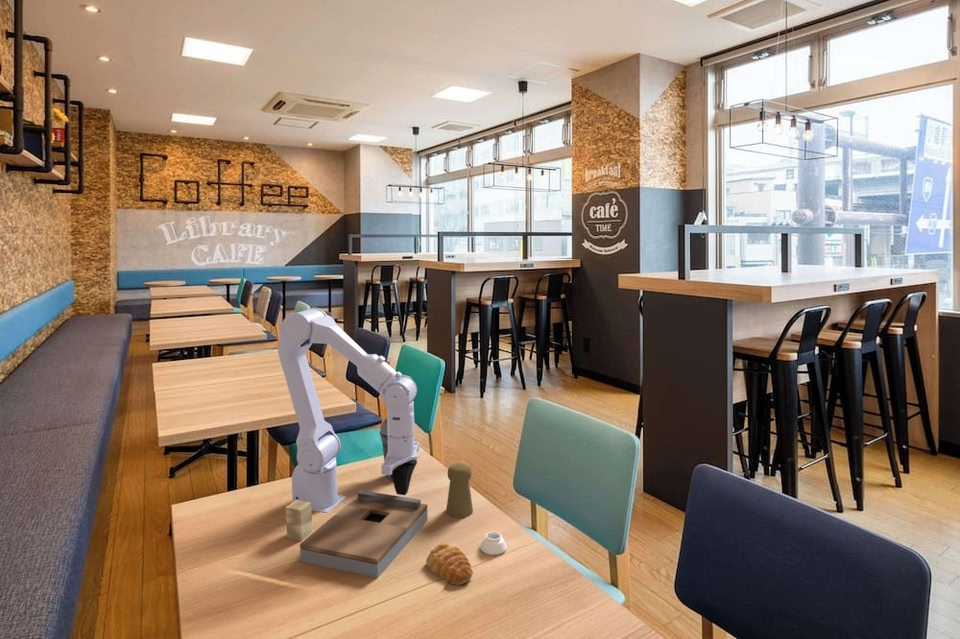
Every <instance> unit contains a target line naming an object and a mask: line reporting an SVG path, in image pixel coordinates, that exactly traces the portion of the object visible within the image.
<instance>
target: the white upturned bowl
mask: <svg viewBox="0 0 960 639" xmlns="http://www.w3.org/2000/svg"><path fill="white" fill-rule="evenodd" d="M507 547H508V546H507V543H506V541H505V540H504V538H503V535H502V534H501V533H500V532H498V531H489V532H487V533H486V534H485V537H483V538H482V541H481V543H480V551H482V552H483V553H484V554H487V555H501V554H503V553H505V552H506V550H507V549H508V548H507Z"/></svg>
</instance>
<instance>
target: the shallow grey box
mask: <svg viewBox="0 0 960 639" xmlns="http://www.w3.org/2000/svg"><path fill="white" fill-rule="evenodd" d="M386 517H387V516H385V515H379V514H374V513H370V514H369V515H368V516H367V517H366V518H365V519H364V520H366V521H371V522H377V523H380V522H381V521H382V520H384V519H385V518H386ZM427 522H428V508H427V509H426V510H425V511H424V513H423V514H422V515H421V516H420V517H419V518H418V519H417V520H416V522H415V523H414V524H413V525H412V526H411V527H410V528H409V529H408V530H407V532H406V533H405V534H404V535H403V536H402V537H401V538H400V539H399V540H398V542H397V543H396V544H395V545H394V546H393V547H392V548H391V549H390V550H389V552H388V553H387V554H386V555H385V556H384V557H383V558H382V559H381V560H380V562H379V563H378V564H376V563H372V562H367V561H362V560H357V559H352V558H347V557H342V556H337V555H332V554H327V553H322V552H317V551H312V550H307V549H302V548H299V549H300V550H299V551H300V553H299V556H300V557H299V558H300V562H301V563H306V564H309V565H314V566H319V567H325V568H328V569H332V570H339V571H343V572H347V573H353V574H356V575H357V574H358V575H362V576H367V577H371V578H374V579H375V578H376V579H378V578H380V576H381V575H382V574H383V573H384V572H385V571H386V570H387V568H388V567H389V566H390V565H391V564H392V563H393V562H394V561H395V559H396V558H397V557H398V556H399V554H400V553H401V552H402V551H403V549H405V547H406V546H407V545H408V544H409V543H410V541H412V540H413V539H414V537H415V535H417V533H418V532H419V531H420V530H421V529H422V528H423V527H424V525H425V524H426V523H427Z"/></svg>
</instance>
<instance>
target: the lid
mask: <svg viewBox="0 0 960 639" xmlns="http://www.w3.org/2000/svg"><path fill="white" fill-rule="evenodd" d="M421 501H422V500H421V499H419V498H418V499H417V498H412V497H405V496H401V495H393V494H387V493H380V492H376V491H375V492H374V491H368V490H363V489H362V490H360V491H359V492H357V496H356V497H354V498H353V499H352V500H351V501H350V502H348V503H347V504H346V505H345V506H344V507H342V508H341V509H340V510H339V511H338V512H336V513H335V514H334V515H332V517H331V518H329V519H328V520H327V521H326V522H325V523H323V524H322V525H321V526H320V527H319V528H317V529H316V530H315V531H314V532H312V533H311V534H310V535H309V536H308V537H306V538H305V539H304V540H303V541H301V542H300V543H299V549H301V548H302V549H307V550H312V551H317V552H322V553H327V554H332V555H337V556H342V557H347V558H352V559H357V560H362V561H367V562H372V563H376V564H378V563H379V562H380V560H381V559H382V558H383V557H384V556H385V555H386V554H387V553H388V552H389V550H390V549H391V548H392V547H393V546H394V545H395V544H396V543H397V542H398V540H399V539H400V538H401V537H402V536H403V535H404V534H405V533H406V532H407V530H408V529H409V528H410V527H411V526H412V525H413V524H414V523H415V522H416V520H417V519H418V518H419V517H420V516H421V515H422V514H423V513H424V511H425V510H426V509H427V510H428V504H427V503H426V504H425V503H422V502H421ZM370 513H374V514H379V515H385V516H387V517H386V518H385V519H384V520H382V521H381V522H380V523H377V522H371V521H366V520H364V519H365V518H366V517H367V516H368V515H369V514H370Z"/></svg>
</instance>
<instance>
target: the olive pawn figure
mask: <svg viewBox="0 0 960 639" xmlns="http://www.w3.org/2000/svg"><path fill="white" fill-rule="evenodd" d="M447 478H448V479H449V488H448V495H447V502H446V510H445V514H447V515H448V516H449V517H452V518H455V519H457V518H459V519H460V518H461V519H462V518H467V517H469V516H471V515H472V514H473V513H474V508H473V501H472V494H471V485H470V480H471V478H472V469H471V467H470V466H469V465H468V464H466V463H461V462H460V463H458V462H457V463H454V464H452V465H451V464H450V466H449V467H448V469H447Z"/></svg>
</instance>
